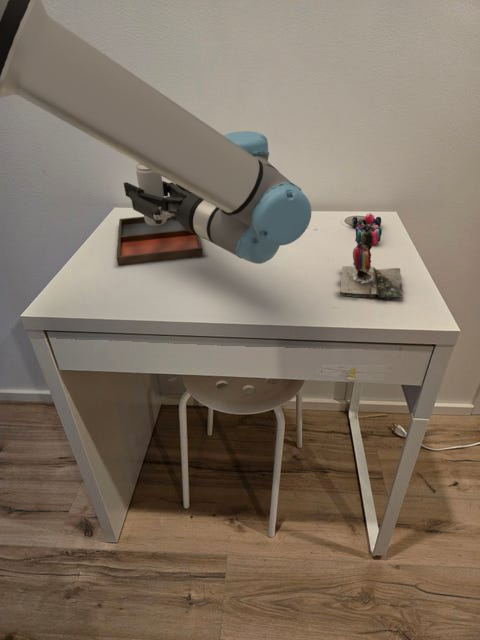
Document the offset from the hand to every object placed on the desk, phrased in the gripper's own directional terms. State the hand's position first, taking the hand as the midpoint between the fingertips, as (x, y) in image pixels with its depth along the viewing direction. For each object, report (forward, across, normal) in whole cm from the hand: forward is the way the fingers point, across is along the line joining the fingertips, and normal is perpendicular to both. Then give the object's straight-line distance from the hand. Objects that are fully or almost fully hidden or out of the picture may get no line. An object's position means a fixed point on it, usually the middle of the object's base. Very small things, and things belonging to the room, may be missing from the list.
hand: (137, 185), depth 92 cm
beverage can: (-5, 0, -7) cm, 9 cm away
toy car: (-34, +39, -14) cm, 53 cm away
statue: (-46, +20, -14) cm, 52 cm away
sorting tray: (-1, +3, -13) cm, 14 cm away
